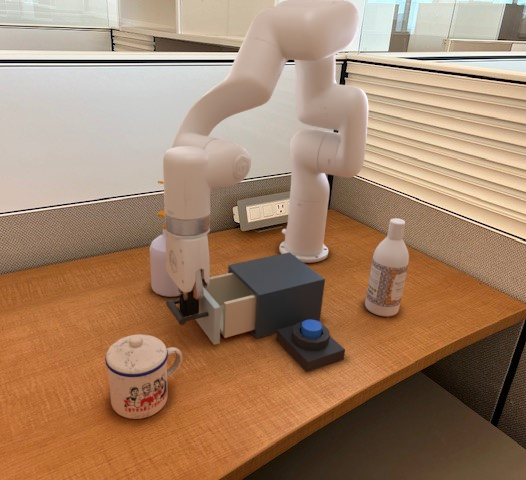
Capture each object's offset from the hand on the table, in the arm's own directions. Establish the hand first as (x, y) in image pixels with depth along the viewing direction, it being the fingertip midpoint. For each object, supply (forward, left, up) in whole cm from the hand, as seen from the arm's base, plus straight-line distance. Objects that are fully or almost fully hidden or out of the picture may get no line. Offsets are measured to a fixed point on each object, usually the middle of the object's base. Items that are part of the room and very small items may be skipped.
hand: (189, 313), depth 88 cm
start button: (+13, +18, -1) cm, 22 cm away
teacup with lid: (+12, -12, -5) cm, 18 cm away
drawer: (0, +6, -4) cm, 7 cm away
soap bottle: (-18, +3, -5) cm, 19 cm away
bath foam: (+8, +40, -5) cm, 41 cm away
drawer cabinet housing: (0, +18, -5) cm, 19 cm away
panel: (+13, +18, -5) cm, 23 cm away
